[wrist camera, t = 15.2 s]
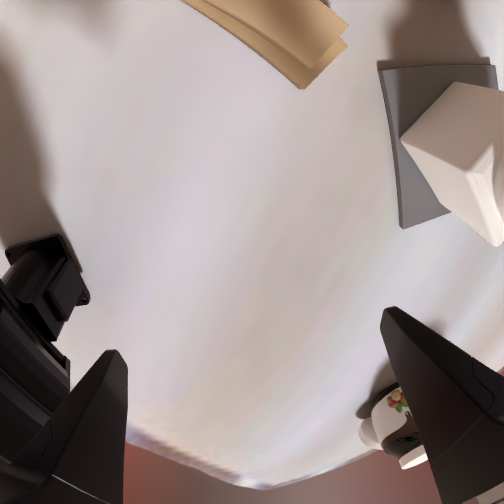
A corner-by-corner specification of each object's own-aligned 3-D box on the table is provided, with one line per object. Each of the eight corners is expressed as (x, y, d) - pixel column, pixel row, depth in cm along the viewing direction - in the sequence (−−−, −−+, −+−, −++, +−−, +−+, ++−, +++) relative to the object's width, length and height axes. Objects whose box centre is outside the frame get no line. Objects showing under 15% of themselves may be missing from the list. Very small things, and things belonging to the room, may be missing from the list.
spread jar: (430, 365, 35) (465, 431, 25) (418, 400, 41) (443, 455, 31) (352, 398, 35) (378, 472, 26) (353, 426, 41) (372, 486, 32)
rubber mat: (399, 225, 22) (403, 229, 21) (377, 70, 16) (382, 70, 15) (495, 191, 21) (499, 193, 21) (490, 64, 15) (495, 65, 14)
